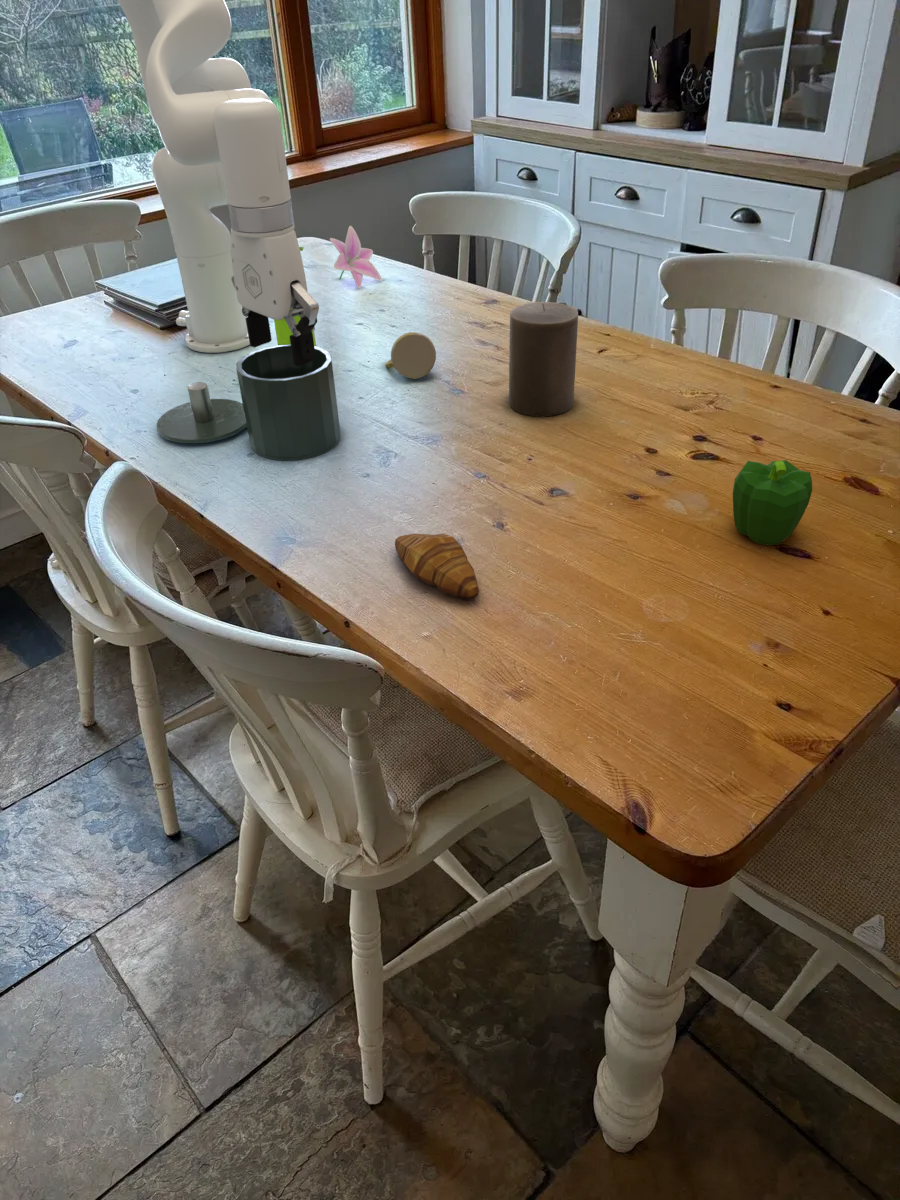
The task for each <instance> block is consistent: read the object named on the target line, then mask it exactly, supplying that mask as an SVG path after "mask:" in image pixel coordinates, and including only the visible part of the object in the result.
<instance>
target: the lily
mask: <svg viewBox="0 0 900 1200" xmlns="http://www.w3.org/2000/svg"><path fill="white" fill-rule="evenodd" d="M329 241H330V243H332V245H333V246H334V248H335V249H336V250H337V252H338V253H339V255H338V256H337V258H336V260H335V262H334V263H333V268H334V269H335V270H339V271H341V273H340V276H339V278H338V279H339V280H341V279H342V277H343V275H344V272H350V274H351V276H352V279H353V281H354V283H355V285H356V287H357V289H360V288H361V287H362V283H363V280H364V279H363V278H364V276H366V277H369V278H372V279H374V280H377V281H379V282H380V281H381V282H382V281H383V279H382V275H380V272H379V271H378V269H377V268H376V266H375V265H374V264H373V263H372V262H371V261H370V260H371V258H372V256H373V254H374V250H373V249H371V248H366V247H362V244H361V241H360V238H359V236H358V234H357V232H356V230H355V228H353V226H352V225H349V227H348V228H347V233H346V236H345V240H344V241H345V242H343V241H342V240H339V239H337V238H334V237H329ZM363 275H364V276H363Z"/></svg>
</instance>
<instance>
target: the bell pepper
mask: <svg viewBox="0 0 900 1200" xmlns="http://www.w3.org/2000/svg"><path fill="white" fill-rule="evenodd" d="M811 475H812V474H811V472H809V471H806V470H802V469H800V468H798V467H797V466H795V465H794V464H793V463H791V462H789V460H787V459H784V460H783V459H782V460H773V461H771V462H770V463H768V464H765V463H762V462H759V461H753V460H747V462H746V463H745V464H744V466H743V467H742V469H741V470H740V471H739V472H738V473H737V475H736V476H735V478H734V480H733V481H734V482H733V487H732V510H733V511H732V512H733V520H734V521H733V522H734V527H735V528H736V531H737V532H738V533H740V534H741V535H742V536H748V538H749V540H751V541H752V542H754V543H756V544H758V545H763V546H778V545H781V544H782V543H783V542H784V541H785V540H786V539H788V538H789V537H791V536H792V534H793V533H794V531H795V530H796V528H797V527H798V525H799V524H800V521H801V520H802V518H803V516H804V515H805V512H806V509H807V507H808V506H809V504H810V500H811V497H812V492H813V479H812V476H811Z"/></svg>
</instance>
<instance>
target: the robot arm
mask: <svg viewBox="0 0 900 1200" xmlns="http://www.w3.org/2000/svg"><path fill="white" fill-rule="evenodd" d="M117 2H118V4H119V6H120V8H121V10H122V11H123V14H124V15H125V17H126V20H127V23H128V24H129V27H130V30H131V33H132V37H133V40H134V41H133V42H134V46H135V50H136V55H137V60H138V65H139V69H140V74H141V79H142V85H143V88H144V93H145V97H146V103H147V107H148V109H149V113H150V116H151V119H152V121H153V123H154V124H155V126H156V127H157V129H158V132H159V135H160V137H161V140H162V143H163V145H164V147H162V148H161V149H158V151H157V152H156V153H155V154H154V156H153V157H152V162H151V172H152V177H153V180H154V184H155V186H156V189H157V192H158V195H159V198H160V200H161V203H162V206H163V209H164V212H165V215H166V219H167V222H168V226H169V229H170V234H171V239H172V243H173V247H174V251H175V255H176V260H177V265H178V270H179V275H180V279H181V284H182V289H183V293H184V299H185V302H186V307H187V310H180V311H179V312H178V317H177V318H176V319H175V324H176V325H177V326H179V327H186V329H187V334H186V335H185V336H184V341H185V345H186V347H187V348H188V349H190V350H193V351H194V352H200V353H207V354H208V353H209V354H213V353H214V354H215V353H226V352H232V351H236V350H239V349H244V348H245V347H248V346H250V347H252V348H257V347H261V346H262V345H266V344H269V343H271V342H272V331H271V326H270V322H269V321H270V319H271V320H274V319H275V320H281V319H283V318H284V319H285V321H286V323H287V324H288V326H289V328H290V330H291V332H292V334H293V335H290V343H291V350H292V357H293V363H294V365H296V366H300V365H303V364H306V363H309V362H311V361H314V360H315V358H316V357H315V349H314V341H313V333H312V331H314V332H315V329H316V328H315V326H316V324H317V323H318V314H319V310H320V305H319V302H317V300H316V299H314V297H313V296H312V295H311V294H310V293H309V291H308V285H307V278H306V272H305V267H304V262H303V258H302V257H303V256H302V253H301V252H302V251H300V248H299V247H300V245H299V240H298V238H297V234H296V231H295V230H294V229H296V228H295V219H294V212H293V204H292V196H291V189H290V181H289V172H288V166H287V164H288V163H287V158H286V151H285V149H286V148H285V141H284V135H283V127H282V120H281V115H280V110H279V108H278V107H277V106H276V104H275V103H274V102H272V100H271V99H270V97H269V96H268V94H267V93H265V92H264V91H263V90H260V89H258V88H257V89H256V88H252V87H253V86H252V85H251V84H252V83H251V81H250V78H249V76H248V73H247V71H246V70H245V68H244V67H243V65H242V64H241V63H240V62H238V61H237V60H235V59H233V58H228V57H215V58H214V56H216V55H217V54H219V52H221V51H222V49H223V48H224V47H225V46H226V45H227V43H228V41H229V39H230V37H231V34H232V26H233V25H232V19H231V14H230V11H229V8H228V5H227V4H226V1H225V0H117ZM220 206H227V207H228V212H229V219H230V224H231V227H230V230H229V229H228V227H227V225H225V223H223V221H221V220H220V219H219V218H218V217H217V216H215V215H214V213H212V212H211V209H212V208H218V207H220ZM290 308H291V309H292V310H290ZM298 315H299V316H300V318H301V319H300V321H299V323H298V324H297V323H296V321H295V319H294V318H293V317H295V316H298Z"/></svg>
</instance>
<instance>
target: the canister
mask: <svg viewBox="0 0 900 1200" xmlns="http://www.w3.org/2000/svg"><path fill="white" fill-rule="evenodd" d="M314 349H315V357H316V358H315V360H314V361H311V362H309V363H306V364H303V365H300V366H296V365H294V363H293V357H292V350H291V344H290V345H278V344H277V345H273V346H267V347H263V348H259V349H257V350H253V351H251V352H249V353H247V354H246V355H244V356H242V357H241V358H240V359H239V360H238V361H237V362H236V367H235V369H236V376H237V381H238V387H239V392H240V397H241V403H243V408H244V413H245V419H246V424H247V427H246V429H247V434H248V435H247V436H248V439H249V444H250V446H251V450H252V451H253V452H254V453H255V454H257V455H259V456H260V457H262V458H265V459H269V460H274V461H281V462H283V461H285V462H288V461H289V462H291V461H293V462H294V461H302V460H307V459H312V458H316V457H318V456H321V455H323V454H326V453H327V452H329V451H331V450H332V449H334V448H335V447H336V446H337V445H338V444H339V443H340V440H341V427H340V419H339V410H338V401H337V394H336V385H335V376H334V369H333V368H334V367H333V360H332V355H331V354H330V353H329V352H328V351H327V350H326V349H324V348H321V347H319V346H316V347H315V346H314Z"/></svg>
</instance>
